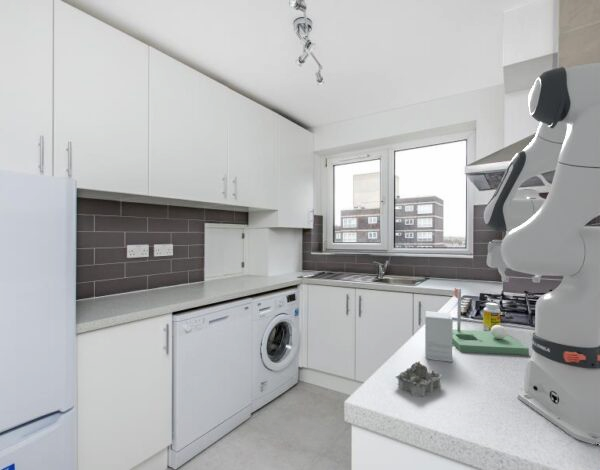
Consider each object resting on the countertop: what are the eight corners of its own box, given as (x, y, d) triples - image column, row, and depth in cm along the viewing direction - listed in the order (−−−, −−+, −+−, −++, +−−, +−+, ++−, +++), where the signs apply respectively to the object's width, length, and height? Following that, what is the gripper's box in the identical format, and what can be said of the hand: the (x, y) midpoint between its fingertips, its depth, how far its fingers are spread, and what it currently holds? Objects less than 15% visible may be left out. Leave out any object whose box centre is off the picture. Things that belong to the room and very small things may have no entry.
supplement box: (450, 353, 97) (451, 312, 97) (452, 363, 90) (453, 319, 90) (424, 350, 100) (425, 310, 100) (424, 358, 93) (425, 316, 93)
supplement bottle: (490, 333, 117) (490, 305, 117) (479, 328, 123) (480, 302, 123) (503, 332, 118) (504, 305, 118) (492, 327, 124) (493, 301, 123)
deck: (528, 354, 97) (529, 299, 96) (459, 351, 99) (460, 297, 99) (497, 334, 116) (498, 288, 116) (440, 331, 118) (441, 286, 118)
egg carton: (419, 375, 83) (419, 360, 83) (446, 387, 77) (446, 370, 77) (392, 386, 77) (392, 369, 77) (418, 400, 71) (419, 382, 71)
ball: (509, 341, 103) (509, 327, 103) (494, 340, 103) (494, 327, 103) (502, 336, 107) (502, 323, 107) (488, 336, 108) (488, 323, 108)
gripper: (492, 240, 102) (491, 282, 102) (562, 240, 99) (560, 284, 100) (483, 239, 108) (482, 279, 108) (549, 239, 105) (547, 280, 106)
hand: (520, 281), depth 104 cm, fingers open, 8 cm apart
